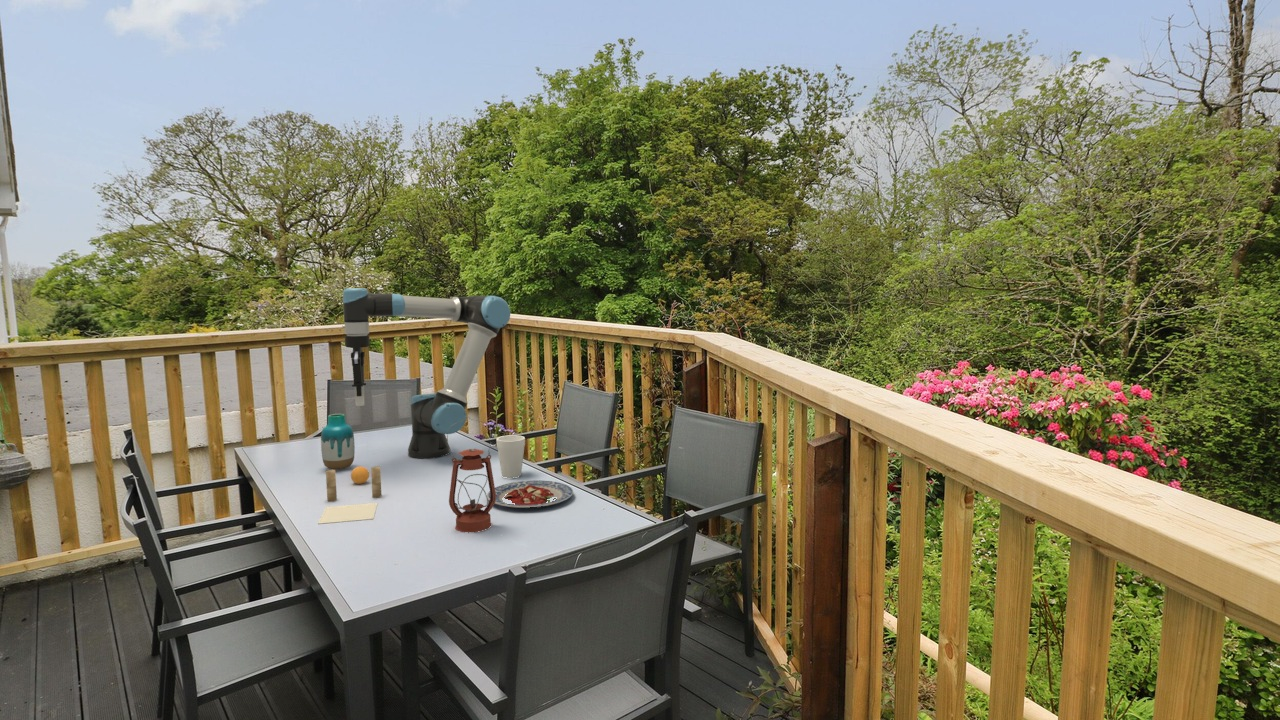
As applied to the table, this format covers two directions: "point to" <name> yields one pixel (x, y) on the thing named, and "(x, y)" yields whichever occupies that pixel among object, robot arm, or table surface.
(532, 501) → the ceramic plate
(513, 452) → the foam cup
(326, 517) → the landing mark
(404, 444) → the table surface
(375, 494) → the right post
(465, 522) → the lantern
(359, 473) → the ball
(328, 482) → the left post
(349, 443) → the vase
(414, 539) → the table surface
